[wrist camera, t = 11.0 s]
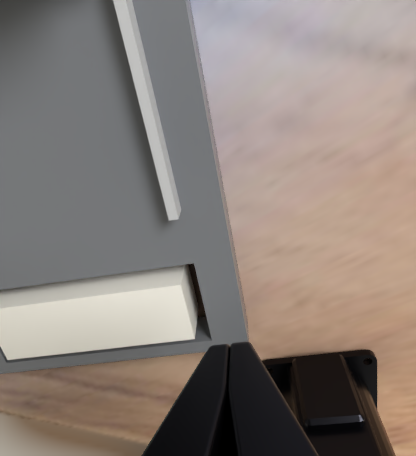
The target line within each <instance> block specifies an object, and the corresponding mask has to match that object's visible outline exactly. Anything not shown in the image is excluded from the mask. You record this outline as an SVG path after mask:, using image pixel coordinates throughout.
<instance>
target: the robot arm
mask: <svg viewBox="0 0 416 456" xmlns="http://www.w3.org/2000/svg"><path fill="white" fill-rule="evenodd" d="M367 358H369V359H367ZM365 359H367V360H365ZM267 368H271V369H267ZM142 456H395V453H394V451H393V448H392V446H391V443H390V441H389V438H388V436H387V433H386V431H385V428H384V426H383V423H382V421H381V418H380V416H379V414H378V411H377V359H376V357H375V354H374V353H373V352H372V351H370V350H358V351H348V352H338V353H329V354H319V355H309V356H299V357H290V358H280V359H270V360H264V361H263V362H262V361H261V359H260V358H259V356H258V354H257V353H256V351H255V349H254V348H253V346H252V344H251V343H250V342H248V341H245V342H236V343H232V344H231V345H229V344H219V345H212V346H210V347H209V348H208V350H207V352H206V353H205V355H204V356H203V358H202V360H201V361H200V363H199V364H198V366H197V368H196V369H195V371H194V372H193V374H192V376H191V377H190V379H189V380H188V382H187V384H186V385H185V387H184V388H183V390H182V392H181V393H180V395H179V396H178V398H177V400H176V401H175V403H174V404H173V406H172V408H171V409H170V411H169V412H168V414H167V416H166V417H165V419H164V420H163V422H162V424H161V425H160V427H159V429H158V430H157V432H156V433H155V435H154V437H153V438H152V440H151V441H150V443H149V445H148V446H147V448H146V449H145V451H144V453H143V454H142Z"/></svg>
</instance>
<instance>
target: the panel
mask: <svg viewBox="0 0 416 456" xmlns="http://www.w3.org/2000/svg"><path fill="white" fill-rule="evenodd" d="M193 263H194V266H195V270H196V274H197V279H198V283H199V287H200V291H201V296H202V300H203V304H204V309H205V313H206V316H204V317H197V325H196V334H195V339H191V340H182V341H173V342H164V343H156V344H147V345H138V346H129V347H120V348H111V349H102V350H93V351H84V352H75V353H66V354H57V355H48V356H39V357H30V358H21V359H12V360H7V358H6V356H5V354H4V352H3V351H2V349H1V347H0V374H4V373H13V372H22V371H32V370H41V369H50V368H60V367H69V366H78V365H88V364H97V363H106V362H116V361H125V360H134V359H144V358H153V357H162V356H172V355H181V354H190V353H200V352H207V350H208V348H209V347H210V346H212V345H219V344H229V345H231V344H232V343H236V342H245V341H248V342H249V336H248V321H247V316H246V310H245V305H244V299H243V294H242V288H241V282H240V277H239V271H238V266H237V260H236V255H235V249H234V244H233V238H232V232H231V227H230V221H229V216H228V210H227V205H226V199H225V194H224V188H223V182H222V177H221V171H220V166H219V160H218V155H217V149H216V144H215V138H214V132H213V127H212V121H211V116H210V110H209V105H208V99H207V94H206V88H205V82H204V77H203V71H202V66H201V60H200V55H199V49H198V44H197V38H196V32H195V27H194V21H193V16H192V10H191V5H190V0H0V290H3V289H10V288H18V287H25V286H32V285H40V284H47V283H54V282H61V281H69V280H76V279H83V278H91V277H98V276H105V275H112V274H120V273H127V272H134V271H142V270H149V269H156V268H163V267H171V266H178V265H185V264H193Z"/></svg>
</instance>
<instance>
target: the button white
mask: <svg viewBox="0 0 416 456" xmlns="http://www.w3.org/2000/svg"><path fill="white" fill-rule="evenodd" d="M198 308H199V307H198V303H197V299H196V295H195V291H194V286H193V282H192V278H191V274H190V270H189V266H188V264H185V265H178V266H171V267H163V268H156V269H149V270H142V271H134V272H127V273H120V274H112V275H105V276H98V277H91V278H83V279H76V280H69V281H61V282H54V283H47V284H40V285H32V286H25V287H18V288H10V289H3V290H0V347H1V349H2V351H3V352H4V354H5V356H6V358H7V360H12V359H21V358H30V357H39V356H48V355H57V354H66V353H75V352H84V351H93V350H102V349H111V348H120V347H129V346H138V345H147V344H156V343H164V342H173V341H182V340H191V339H195V334H196V325H197V317H198Z"/></svg>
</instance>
